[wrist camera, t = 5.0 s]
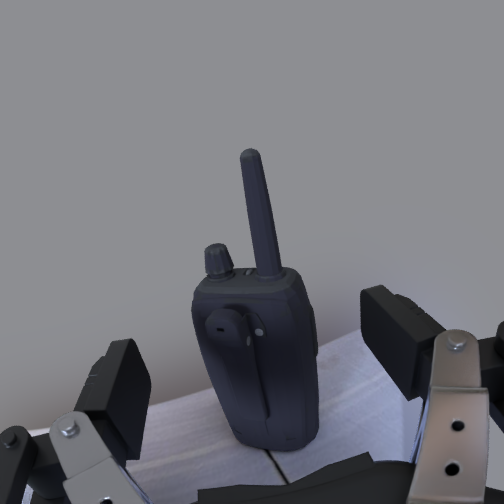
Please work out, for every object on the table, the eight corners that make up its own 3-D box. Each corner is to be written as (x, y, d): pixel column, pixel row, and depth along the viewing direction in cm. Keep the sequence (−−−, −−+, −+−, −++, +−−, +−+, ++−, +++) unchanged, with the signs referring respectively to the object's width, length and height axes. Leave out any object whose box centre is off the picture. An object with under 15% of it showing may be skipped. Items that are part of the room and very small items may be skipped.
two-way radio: (327, 414, 17) (299, 140, 12) (313, 475, 13) (270, 146, 8) (241, 406, 19) (179, 161, 14) (214, 459, 15) (115, 179, 10)
